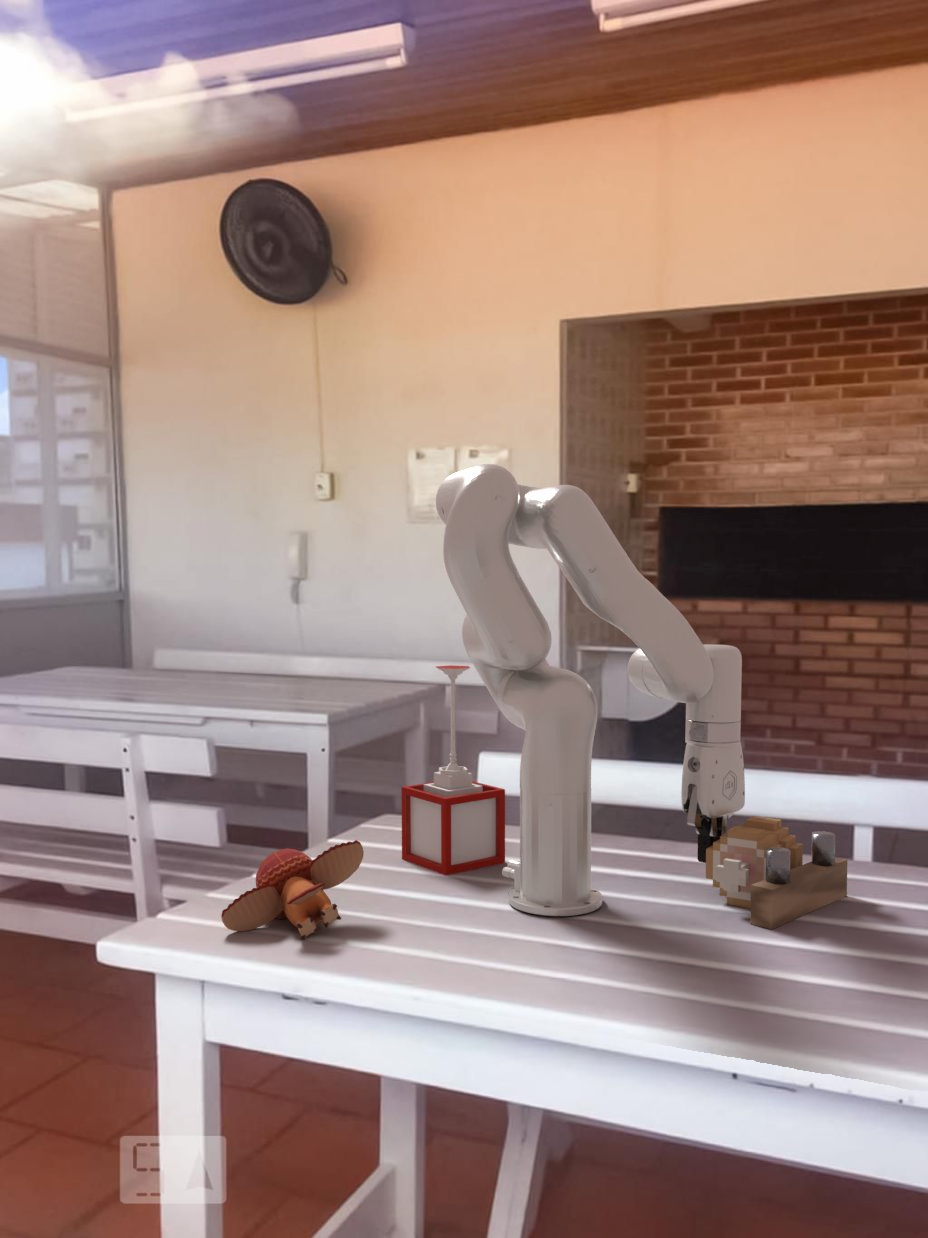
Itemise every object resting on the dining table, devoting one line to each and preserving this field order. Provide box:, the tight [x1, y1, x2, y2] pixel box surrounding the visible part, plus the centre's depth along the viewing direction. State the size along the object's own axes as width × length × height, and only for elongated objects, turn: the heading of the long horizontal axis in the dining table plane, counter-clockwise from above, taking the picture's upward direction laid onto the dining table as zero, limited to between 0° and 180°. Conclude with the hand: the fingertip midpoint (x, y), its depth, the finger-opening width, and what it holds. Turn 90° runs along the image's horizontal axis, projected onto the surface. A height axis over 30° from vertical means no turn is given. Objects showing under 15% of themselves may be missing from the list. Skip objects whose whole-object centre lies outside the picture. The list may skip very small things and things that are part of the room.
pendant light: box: [401, 664, 506, 876], centre depth 167 cm, size 11×11×30 cm
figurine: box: [220, 839, 364, 941], centre depth 138 cm, size 20×9×15 cm
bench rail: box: [749, 830, 848, 930], centre depth 143 cm, size 3×20×9 cm, turn 134°
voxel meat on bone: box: [705, 815, 804, 909], centre depth 148 cm, size 10×18×10 cm, turn 146°
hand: (710, 862), depth 153 cm, fingers closed
